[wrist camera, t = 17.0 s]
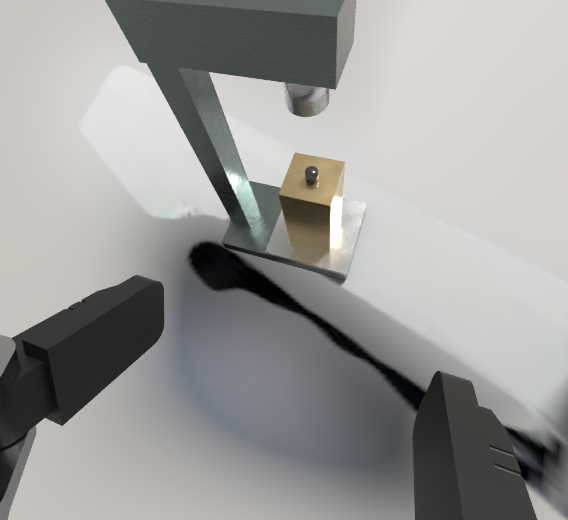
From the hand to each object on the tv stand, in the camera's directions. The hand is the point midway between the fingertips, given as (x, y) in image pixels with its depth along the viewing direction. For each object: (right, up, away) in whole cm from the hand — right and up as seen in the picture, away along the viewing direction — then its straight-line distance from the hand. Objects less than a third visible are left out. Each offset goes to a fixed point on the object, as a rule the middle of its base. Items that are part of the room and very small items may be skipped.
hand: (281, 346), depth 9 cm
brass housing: (+4, +6, +31) cm, 32 cm away
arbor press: (+2, +8, +34) cm, 35 cm away
